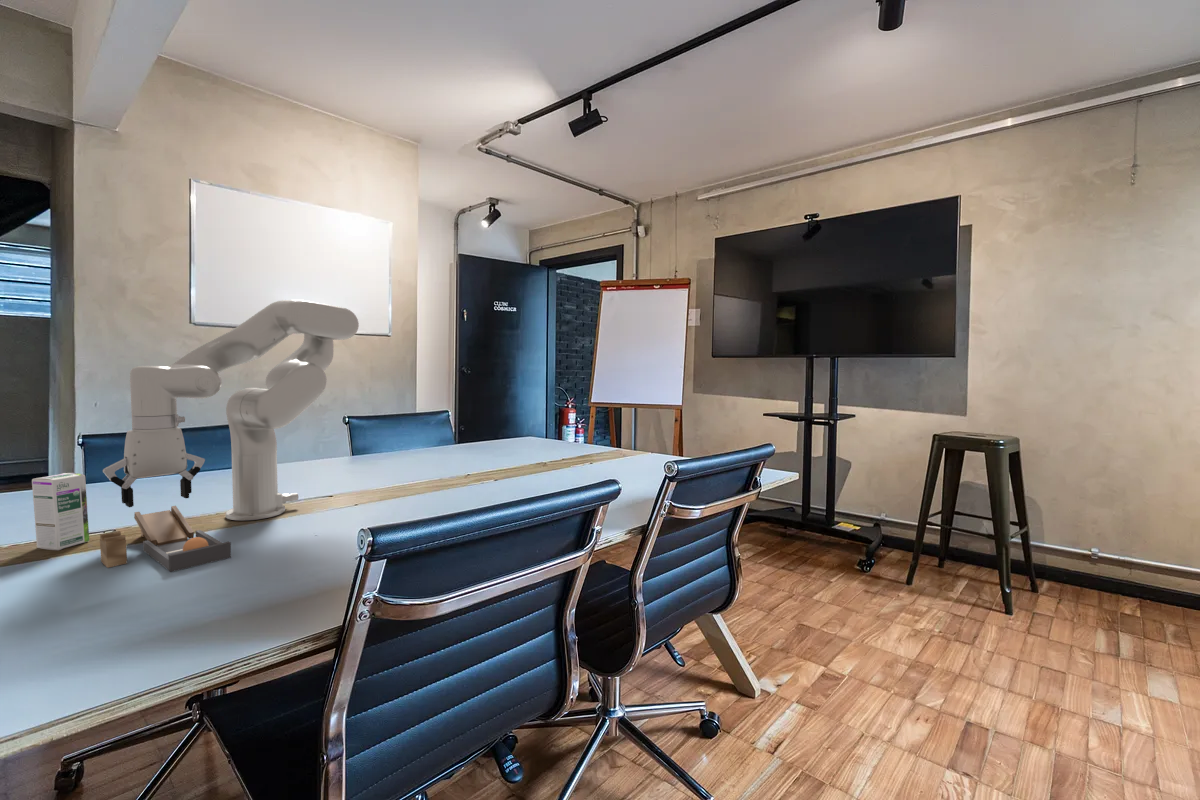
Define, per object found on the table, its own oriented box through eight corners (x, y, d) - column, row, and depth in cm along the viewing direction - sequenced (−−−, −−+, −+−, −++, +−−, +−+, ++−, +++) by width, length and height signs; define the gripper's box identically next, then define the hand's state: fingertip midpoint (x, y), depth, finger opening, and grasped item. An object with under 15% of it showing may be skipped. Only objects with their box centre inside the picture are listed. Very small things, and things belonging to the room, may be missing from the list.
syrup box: (57, 550, 108) (54, 479, 107) (35, 548, 109) (31, 477, 108) (90, 541, 114) (86, 473, 112) (68, 539, 115) (64, 471, 114)
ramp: (175, 529, 122) (174, 505, 122) (194, 540, 115) (193, 515, 115) (134, 537, 117) (133, 511, 116) (151, 549, 109) (150, 522, 109)
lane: (200, 539, 116) (199, 525, 116) (231, 557, 106) (230, 542, 106) (143, 550, 109) (142, 536, 109) (170, 572, 99) (170, 556, 98)
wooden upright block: (120, 557, 105) (119, 530, 105) (127, 563, 102) (125, 536, 102) (101, 561, 103) (99, 534, 102) (107, 567, 100) (106, 539, 100)
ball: (207, 557, 106) (203, 538, 107) (213, 552, 104) (209, 532, 105) (182, 563, 103) (178, 543, 104) (188, 558, 101) (184, 537, 102)
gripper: (196, 419, 125) (199, 491, 127) (96, 425, 112) (100, 506, 113) (208, 421, 121) (211, 496, 122) (105, 428, 107) (109, 513, 108)
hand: (158, 501), depth 117 cm, fingers open, 9 cm apart
